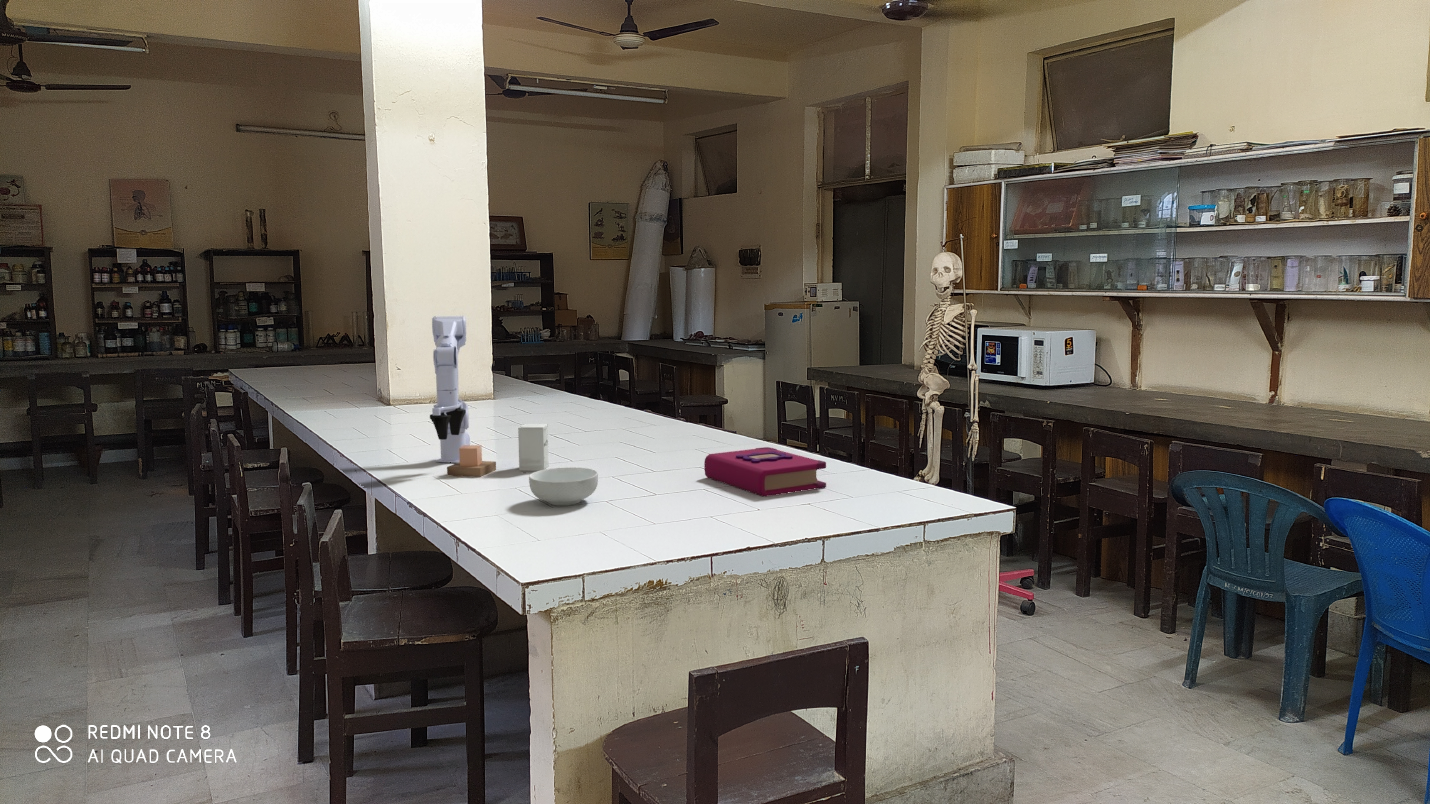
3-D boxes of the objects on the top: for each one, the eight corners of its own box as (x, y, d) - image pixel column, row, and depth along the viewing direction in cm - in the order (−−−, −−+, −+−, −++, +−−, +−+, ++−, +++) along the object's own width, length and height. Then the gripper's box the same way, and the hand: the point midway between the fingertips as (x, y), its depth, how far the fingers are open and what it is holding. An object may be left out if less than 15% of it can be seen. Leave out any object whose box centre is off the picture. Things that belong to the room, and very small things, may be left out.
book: (760, 498, 243) (760, 468, 242) (704, 479, 267) (704, 452, 266) (828, 489, 254) (828, 460, 253) (768, 471, 278) (768, 444, 277)
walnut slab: (463, 470, 282) (463, 460, 282) (496, 471, 280) (495, 461, 280) (447, 477, 273) (447, 466, 272) (480, 478, 270) (480, 468, 270)
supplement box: (544, 471, 278) (543, 427, 276) (518, 471, 278) (517, 427, 276) (549, 466, 285) (548, 423, 284) (524, 466, 285) (522, 423, 284)
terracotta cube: (464, 462, 278) (463, 445, 278) (482, 462, 278) (481, 445, 278) (459, 466, 273) (459, 448, 273) (477, 466, 273) (476, 448, 273)
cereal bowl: (524, 497, 245) (523, 469, 244) (589, 492, 250) (588, 465, 250) (536, 512, 229) (535, 483, 228) (606, 506, 235) (605, 477, 234)
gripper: (445, 386, 283) (447, 432, 285) (421, 392, 269) (423, 441, 271) (468, 386, 282) (470, 433, 284) (445, 392, 268) (447, 441, 270)
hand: (449, 437), depth 277 cm, fingers open, 7 cm apart
